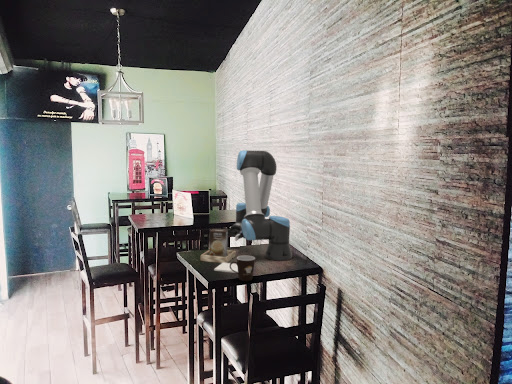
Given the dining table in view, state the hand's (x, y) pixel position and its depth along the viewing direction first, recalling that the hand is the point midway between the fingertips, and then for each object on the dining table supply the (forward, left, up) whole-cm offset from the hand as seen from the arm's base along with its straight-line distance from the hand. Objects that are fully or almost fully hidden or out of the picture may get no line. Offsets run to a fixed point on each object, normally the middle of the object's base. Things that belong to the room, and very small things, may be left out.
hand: (224, 237), depth 222 cm
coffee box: (0, +10, -10) cm, 14 cm away
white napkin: (-13, +25, -10) cm, 30 cm away
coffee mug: (-23, +38, -10) cm, 46 cm away
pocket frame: (0, +10, -10) cm, 14 cm away
